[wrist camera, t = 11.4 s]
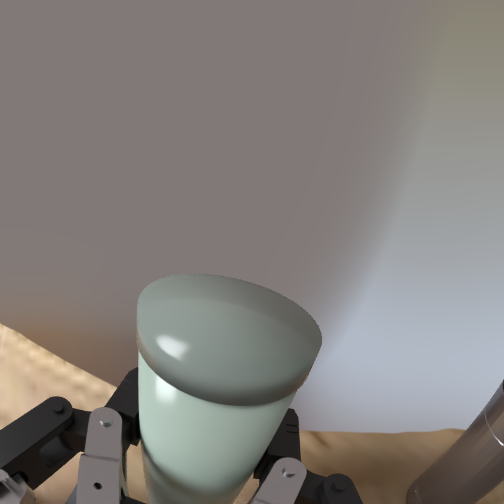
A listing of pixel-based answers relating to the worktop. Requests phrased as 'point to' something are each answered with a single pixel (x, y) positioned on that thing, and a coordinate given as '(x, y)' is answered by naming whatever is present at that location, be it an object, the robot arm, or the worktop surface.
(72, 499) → the slate mat
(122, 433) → the robot arm
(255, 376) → the canister
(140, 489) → the worktop surface
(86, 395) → the worktop surface
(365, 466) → the worktop surface
